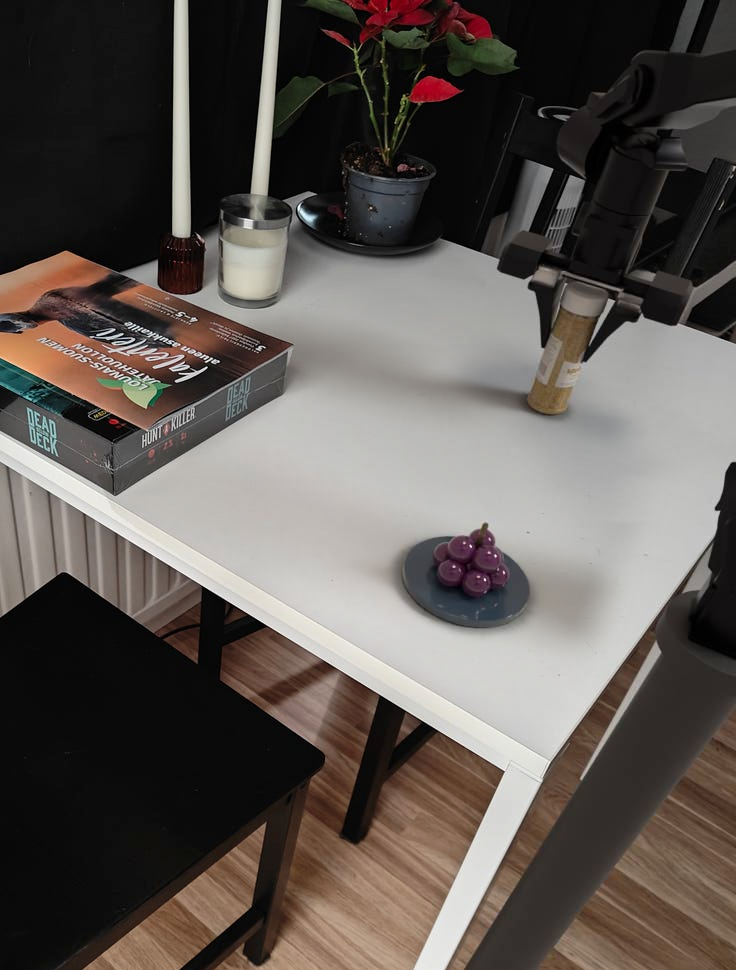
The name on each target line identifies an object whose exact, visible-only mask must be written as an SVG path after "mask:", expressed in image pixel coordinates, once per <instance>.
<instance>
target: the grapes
mask: <svg viewBox="0 0 736 970" xmlns="http://www.w3.org/2000/svg"><path fill="white" fill-rule="evenodd" d="M401 569H402V570H401V571H402V572H401V576H402V581H403V584H404V587H405V589H406V591H407V593H409V595H410V596H411V597H412V599H413V600H414V601H415V602H416V603H417V604H418V605H419V606H420V607H422V608H423V609H424V610H426V611H427V612H429V613H430V614H432V615H433V616H435V617H438V618H440V619H442V620H444V621H446V622H449V623H452V624H455V625H459V626H463V627H468V628H470V627H471V628H493V627H499V626H502V625H506V624H509V623H510V622H512V621H514V620H515V619H516V618H518V617H519V616H520V615H521V614H522V613H523V611H524V609H525V608H526V606H527V603H528V602H529V599H530V592H531V589H530V584H529V583H530V582H529V579H528V578H527V575H526V574H525V572H524V570H523V569H522V568H521V567H520V565H519V564H518V563H517V562H516V561H515V560H514V559H513V558H512V557H511V556H509V555H508V554H507V553H505V552H504V551H502V550H501V549H500V547H498V546H496V537H495V535H494V533H493V532H491V530H489V523H488V522H486V521H485V522H483V523H482V524H481V528H480V527H479V528H476V529H473V530H472V531H471V532H470V533H469V534H468V535H465V534H460V535H455V536H454V535H447V536H446V535H444V536H443V535H441V536H436V537H431V538H427V539H425V540H422V541H420V542H419V543H417V544H416V545H414V546H413V547H412V548H410V550H409V551H408V553H407V554H406V556H405V558H404V562H403V566H402V568H401Z"/></svg>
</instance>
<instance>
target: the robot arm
mask: <svg viewBox="0 0 736 970" xmlns="http://www.w3.org/2000/svg"><path fill="white" fill-rule="evenodd" d="M731 107H736V46H734V47H731V48H726V49H722V50H717V51H712V52H709V53H695V52H694V53H692V52H681V51H680V52H679V51H667V50H666V51H665V50H653V49H652V50H651V49H650V50H649V49H647V50H646V49H645V50H642V51H639V53H637V54H636V55H635V56H634V57H633V58H632V59H631V60H630V66H628V67H627V68H626V69H625V70H624V71H623V73H622V74H621V75H620V76H619V77H618V79H617V80H616V81H615V82H614V83H613V84H612V86H610V88H609V89H608V90H607V91H606V92H594V91H591V93H589V96H588V99H587V102H586V105H583V106H581V107H580V108H578V109H577V110H575V111H574V112H573V113H571V115H569V117H568V118H567V119H566V120H565V122H564V124H563V126H561V127H560V129H559V131H558V134H557V138H556V152H557V155H558V156H559V158H560V160H561V161H562V162H564V163H565V164H566V165H567V166H569V167H570V168H571V169H572V170H573V171H575V173H577V174H579V175H580V176H581V177H582V178H583V179H585V180H586V181H587V182H588V183H590V184H592V185H594V186H595V189H594V192H593V196H592V198H591V200H590V202H587V201H583V202H582V205H581V206H580V209H579V212H578V213H577V216H576V218H575V221H574V223H573V226H572V229H571V234H572V235H574V236H577V239H576V242H575V246H574V248H573V250H572V253H571V256H569V255H566V254H563V253H558V252H555V251H552V249H553V245H554V238H551V237H548V236H544V235H541V234H539V233H534V232H531V231H528V230H524V229H522V230H520V231H518V232H517V233H516V234H514V235H513V237H512V238H510V239H509V241H508V242H507V243H506V244H505V245H504V247H503V249H502V251H501V253H500V256H499V259H498V262H497V267H496V270H497V271H498V272H499V273H501V274H504V275H507V276H510V277H514V278H517V279H520V280H522V281H524V280H527V279H528V278H531V279H530V280H529V281H528V283H527V286H526V287H527V289H528V290H529V291H531V292H534V295H535V300H536V305H537V310H538V315H539V332H540V333H539V334H540V348H541V349H545V346H546V344H547V341H548V338H549V335H550V332H551V329H552V328H553V325H554V322H555V319H556V317H557V313H558V310H559V307H560V306H559V305H560V299H561V296H562V294H563V291H564V288H565V286H566V282H567V279H569V280H572V281H575V282H582V283H585V284H588V285H592V286H595V287H598V288H601V289H604V290H606V291H607V292H611V293H615V294H618V295H617V297H616V299H615V301H614V302H613V304H612V306H611V308H610V309H609V311H608V312H607V314H606V316H605V318H604V319H603V321H602V323H601V325H600V326H599V328H598V329H597V332H596V333H595V335H594V336H593V338H592V339H591V341H590V344H589V347H588V349H587V351H586V353H585V356H584V359H583V363H588V361H589V360H590V359H591V358H592V356H594V354H595V353H596V352H597V351H598V349H600V347H601V346H602V345H603V344H604V342H606V340H607V339H609V337H610V336H612V334H614V333H615V332H616V331H617V330H618V329H620V327H622V326H623V325H625V323H626V322H627V323H628V322H629V323H632V324H635V323H638V322H639V319H640V318H641V315H642V317H643V318H644V319H645V320H650V321H653V322H656V323H659V324H662V325H665V326H669V327H676V326H678V324H679V322H680V320H681V318H682V315H683V313H684V312H685V309H686V307H687V305H688V303H689V300H690V298H691V296H692V293H693V291H694V289H695V288H694V285H693V282H692V280H691V279H687V278H683V277H680V276H678V275H673V274H671V273H668V272H664V271H661V270H657V271H656V273H655V275H654V277H653V278H652V280H648V279H645V278H641V277H637V276H634V275H632V274H628V272H629V270H631V269H632V267H633V265H634V263H635V260H636V258H637V255H638V253H639V251H640V248H641V246H642V243H643V235H644V232H645V231H646V227H647V226H648V223H649V221H650V218H651V215H652V213H653V210H654V208H655V205H656V203H657V201H658V198H659V196H660V194H661V191H662V188H663V186H664V184H665V182H666V181H665V180H666V179H667V176H668V174H669V172H670V171H674V172H675V171H677V172H678V171H679V172H682V171H683V172H684V171H686V170H687V168H688V166H689V165H688V158H687V155H686V153H685V151H684V149H683V146H682V138H681V137H680V136H665V135H660V136H659V135H657V134H656V133H653V132H651V131H644V129H650V130H653V129H654V130H671V129H674V130H689V129H692V128H694V127H697V126H700V125H702V124H704V123H706V122H709V121H711V120H714V119H715V118H716V117H717V116H718V115H719V114H720V112H721V111H723V110H727V109H728V108H731ZM723 480H724V481H723V488H722V492H721V495H720V497H719V500H718V502H717V503H716V505H715V506H714V512H719V514H718V516H717V524H716V530H715V534H714V538H713V542H712V546H711V550H710V553H709V559H708V562H707V568H708V570H709V571H710V573H709V575H708V577H707V578H706V580H705V582H704V583H703V585H702V586H701V588H700V589H699V590H700V591H699V593H698V594H697V596H696V598H695V599H694V601H693V602H692V606H691V609H690V613H689V617H688V619H689V621H690V622H691V625H690V629H689V633H688V639H689V640H690V641H692V642H694V643H696V644H699V645H701V646H704V647H706V648H709V649H711V650H714V651H716V652H719V653H721V654H724V655H726V656H729V657H731V658H734V659H736V461H732V462H730V463H729V465H728V467H727V469H726V470H725V473H724V479H723Z"/></svg>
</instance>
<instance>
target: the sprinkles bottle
mask: <svg viewBox="0 0 736 970" xmlns="http://www.w3.org/2000/svg"><path fill="white" fill-rule="evenodd" d="M609 297H610V295H609V293H608V290H604V289H601V288H598V287H595V286H592V285H588V284H585V283H582V282H579V281H572V282H569V283H567V284H565V285H564V288H563V291H562V294H561V298H560V302H559V306H558V310H557V314H556V318H555V322H554V325H553V328H552V329H551V332H550V335H549V338H548V341H547V344H546V346H545V349H544V348H543V349H544V350H543V353H542V355H541V358H540V362H539V364H538V368H537V370H536V372H535V373H536V374H535V378H534V381H533V384H532V386H531V390H530V393H528V395H527V398H526V400H527V401H526V402H527V404H528V405H529V406H530V407H531V408H532V409H533V410H535V411H537V412H539V413H542V414H546V415H560V414H562V413H564V412H566V410H567V408H568V402H569V399H570V397H571V394H572V391H573V389H574V386H575V384H576V382H577V380H578V377H579V375H580V372H581V369H582V367H583V364H584V362H583V359H584V356H585V353H586V351H587V349H588V347H589V346H590V344H591V342H592V340H593V337H594V333H595V330H596V328H597V325H598V322H599V320H600V317H601V316H602V314H603V313H604V312H605V309H606V307H607V304H608V301H609V299H610V298H609Z"/></svg>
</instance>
